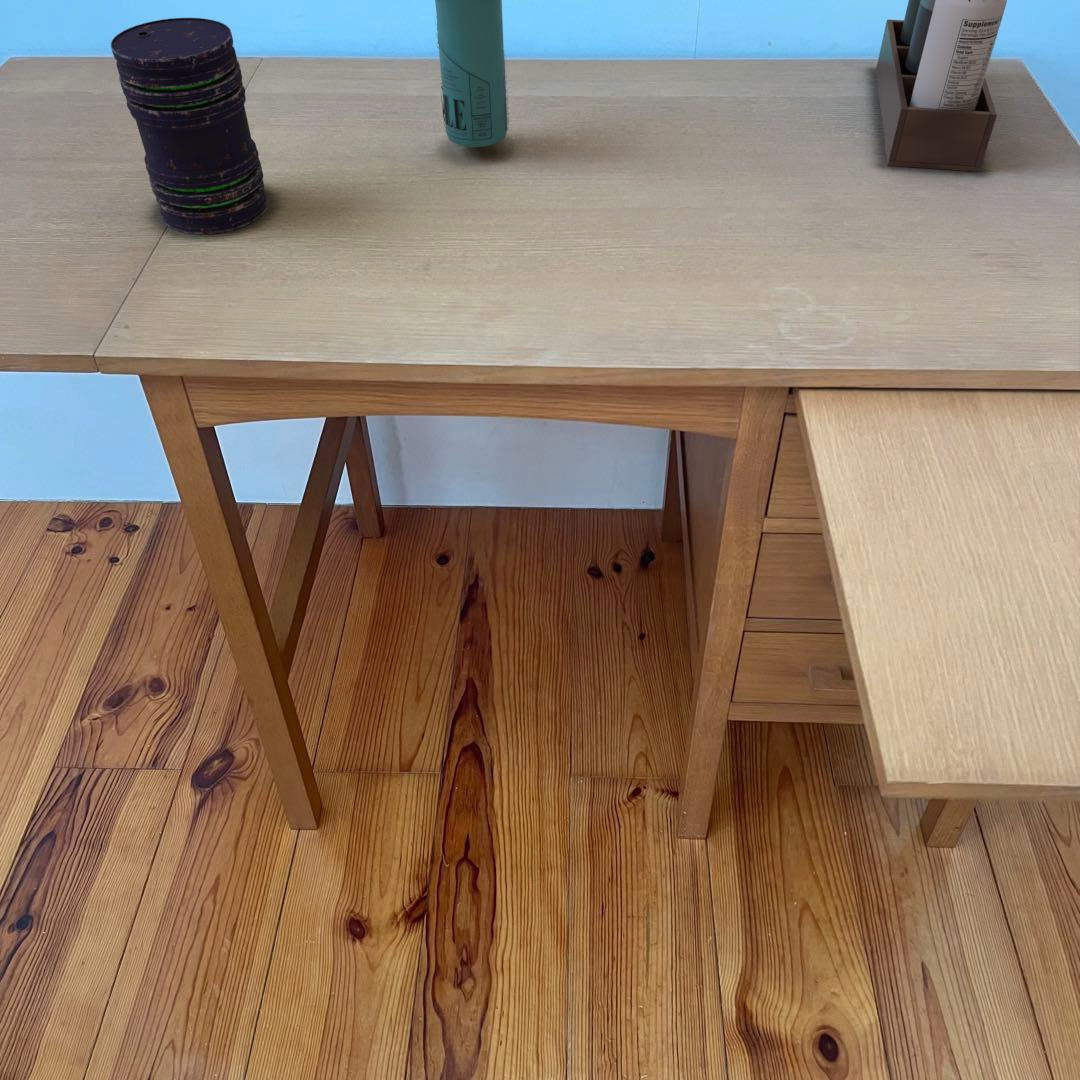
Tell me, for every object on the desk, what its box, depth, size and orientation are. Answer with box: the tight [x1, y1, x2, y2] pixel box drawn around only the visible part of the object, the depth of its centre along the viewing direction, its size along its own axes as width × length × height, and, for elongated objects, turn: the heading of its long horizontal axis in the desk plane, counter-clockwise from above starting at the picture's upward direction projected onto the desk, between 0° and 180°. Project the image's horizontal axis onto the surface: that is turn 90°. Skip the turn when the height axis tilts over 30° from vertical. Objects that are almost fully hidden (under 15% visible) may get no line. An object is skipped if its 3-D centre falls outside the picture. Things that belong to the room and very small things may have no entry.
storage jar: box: [110, 17, 269, 235], centre depth 88 cm, size 10×10×15 cm
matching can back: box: [899, 0, 921, 46], centre depth 106 cm, size 6×6×15 cm
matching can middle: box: [903, 0, 936, 75], centre depth 100 cm, size 6×6×15 cm
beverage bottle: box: [434, 0, 510, 148], centre depth 94 cm, size 6×7×20 cm
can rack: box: [875, 19, 998, 173], centre depth 104 cm, size 9×25×6 cm, turn 169°
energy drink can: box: [909, 0, 1008, 111], centre depth 94 cm, size 6×6×15 cm
